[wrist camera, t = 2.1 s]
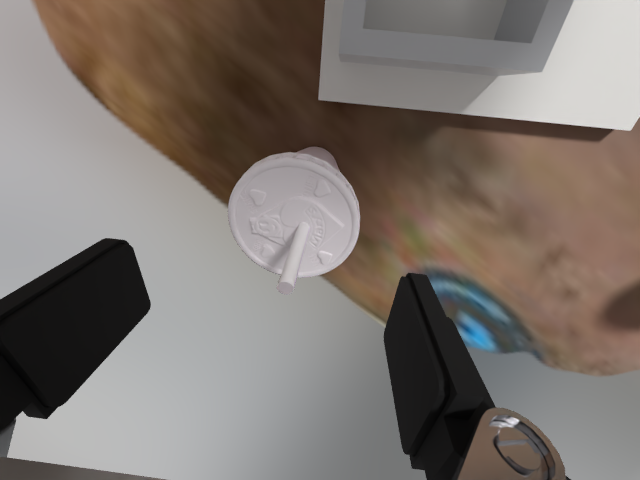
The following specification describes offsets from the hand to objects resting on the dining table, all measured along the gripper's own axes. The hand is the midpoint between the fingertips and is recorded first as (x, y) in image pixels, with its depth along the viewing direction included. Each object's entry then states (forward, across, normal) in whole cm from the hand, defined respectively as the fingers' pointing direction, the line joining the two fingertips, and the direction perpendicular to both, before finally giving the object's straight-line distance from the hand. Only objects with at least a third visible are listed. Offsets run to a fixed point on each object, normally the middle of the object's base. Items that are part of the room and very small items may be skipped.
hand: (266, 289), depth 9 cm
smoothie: (+14, 0, -1) cm, 14 cm away
